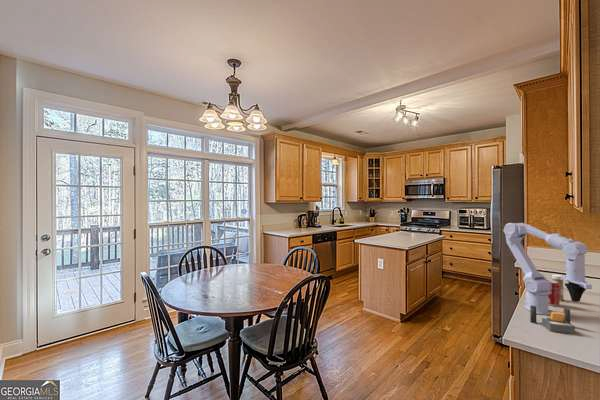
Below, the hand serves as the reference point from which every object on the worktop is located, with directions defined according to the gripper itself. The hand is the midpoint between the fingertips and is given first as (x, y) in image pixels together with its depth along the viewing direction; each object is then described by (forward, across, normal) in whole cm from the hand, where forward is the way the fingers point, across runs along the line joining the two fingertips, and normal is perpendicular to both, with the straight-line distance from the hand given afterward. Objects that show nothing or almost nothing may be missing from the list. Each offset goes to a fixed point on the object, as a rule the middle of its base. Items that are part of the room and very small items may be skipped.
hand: (575, 301), depth 119 cm
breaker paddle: (+7, +7, -12) cm, 15 cm away
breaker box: (+10, +8, -12) cm, 17 cm away
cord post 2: (+10, +3, -5) cm, 12 cm away
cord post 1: (+10, +2, -17) cm, 20 cm away
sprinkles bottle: (+10, -35, +14) cm, 39 cm away
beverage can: (+10, -26, +6) cm, 28 cm away
